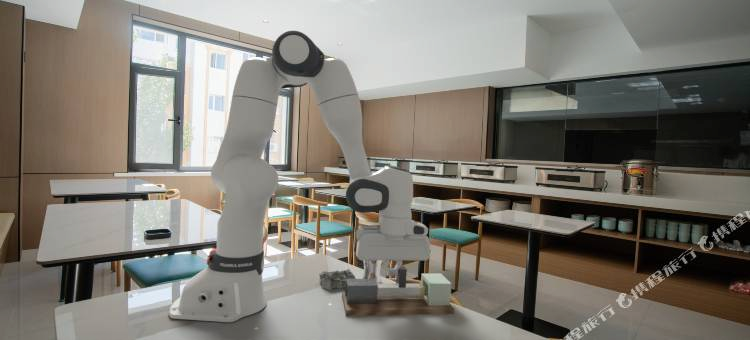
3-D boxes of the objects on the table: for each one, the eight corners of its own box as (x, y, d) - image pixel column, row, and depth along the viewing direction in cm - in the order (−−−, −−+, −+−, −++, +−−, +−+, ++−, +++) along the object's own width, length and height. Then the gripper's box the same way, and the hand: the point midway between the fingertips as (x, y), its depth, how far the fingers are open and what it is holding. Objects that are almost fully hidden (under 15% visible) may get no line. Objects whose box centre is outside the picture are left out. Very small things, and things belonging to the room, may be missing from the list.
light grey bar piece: (348, 299, 96) (350, 269, 96) (347, 294, 100) (348, 265, 99) (424, 298, 100) (426, 269, 100) (420, 293, 103) (422, 266, 103)
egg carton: (322, 291, 108) (323, 277, 108) (317, 281, 115) (318, 269, 115) (356, 288, 112) (357, 274, 112) (349, 279, 119) (350, 267, 119)
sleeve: (346, 304, 96) (347, 285, 95) (345, 296, 100) (346, 278, 100) (376, 303, 97) (377, 285, 97) (373, 296, 102) (374, 278, 102)
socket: (428, 311, 98) (430, 283, 98) (419, 298, 106) (421, 273, 105) (449, 310, 99) (451, 283, 99) (439, 298, 107) (441, 273, 106)
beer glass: (379, 286, 113) (382, 239, 113) (358, 283, 115) (361, 236, 114) (383, 279, 120) (386, 234, 119) (363, 276, 122) (366, 232, 121)
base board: (345, 316, 92) (346, 310, 92) (341, 296, 104) (342, 291, 104) (454, 313, 97) (454, 308, 97) (438, 295, 109) (439, 290, 109)
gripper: (358, 227, 94) (355, 279, 95) (433, 228, 98) (430, 279, 99) (355, 222, 100) (352, 271, 101) (426, 223, 104) (423, 271, 105)
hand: (391, 275), depth 100 cm, fingers closed
